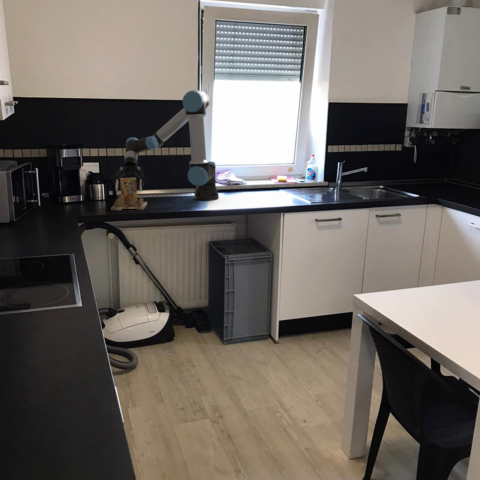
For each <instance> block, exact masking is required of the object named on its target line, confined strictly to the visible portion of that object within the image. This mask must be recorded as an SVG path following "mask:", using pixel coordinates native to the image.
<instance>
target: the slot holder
mask: <svg viewBox="0 0 480 480" xmlns="http://www.w3.org/2000/svg"><path fill="white" fill-rule="evenodd" d="M146 206H148V201H144V197H140V198H139V199H138V200H137V201H122V200H121V197H118V198H117V199H116V200H115V201H114V204H113V205H112V206H111V207H110V211H123V210H122V209H137V210H136V211H143V210H144V209H146Z"/></svg>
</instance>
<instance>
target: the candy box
mask: <svg viewBox="0 0 480 480" xmlns="http://www.w3.org/2000/svg"><path fill="white" fill-rule="evenodd" d="M119 181H120V183H119V184H120V196H121V197H120V198H121V201H138V194H137V193H138V192H137V191H138V190H137V177H122V178H120V179H119Z"/></svg>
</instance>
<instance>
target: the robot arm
mask: <svg viewBox="0 0 480 480" xmlns="http://www.w3.org/2000/svg"><path fill="white" fill-rule="evenodd" d="M209 98H210V97H209V96H208V94H207V93H206V92H205V91H202V90H196V89H195V90H194V89H193V90H189V91H188V92H186V93H185V94H184V96H183V98H182V106H183V108H182V109H181V110H180V111H179V112H177V113H176V114H175V115H174V116H173V117H172V118H170V119H169V120H168V121H167V122H166V123H165V124H164V125H163V126H162V127H160V128H159V129H158V130H157V131H156V132H155V133H154V134H152V135H150V136H146V137H143V138H139V139H138V138H137V137H135V136H133V137H130V136H129V137H128V138H127V139H126V143H125V152H124V161H123V166H120V165H118V167H117V169H116V170H115V172H114V174H113V175H112V176H111V181H112V182H113V183H114V186H115V192H118V189H119V181H120V178H124V176H126V175H135V176H136V178H138V179H139V191H140V192H142V188H143V186H144V184H145V181H146V182H147V181H148V178H147V175H146V173H145V171H144V169H143V166H142V165H140V166H138V158H139V153H142V152H147V151H151V150H155V149H159V148H161V147H162V146H163V144H164V142H166V141H167V140H168V139H169V138H171V137H172V136H174V134H176V132H177V131H178V130H179V129H181V128H182V127H183V126H184V125H185V124H187V123H188V126H189V127H188V128H189V140H190V141H189V142H190V156H191V160H190V161H189V164H188V165H189V170H188V172H187V179H188V181H189V182H190V183H191V184H192V185H193V186H195V187H196V188H195V192H194V195H193V198H194V200H197V201H214V200H218V199H219V196H220V195H219V192H218V189H217V186H216V184H217V183H216V181H217V180H216V177H217V176H216V168H217V167H216V162H215V161H209V160H207V153H206V152H207V151H206V149H207V148H206V136H205V133H206V132H205V121H204V120H205V119H204V117H206V115H207V110H206V109H207V108H208V106H209V105H210V99H209ZM139 171H140V173H139Z"/></svg>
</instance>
